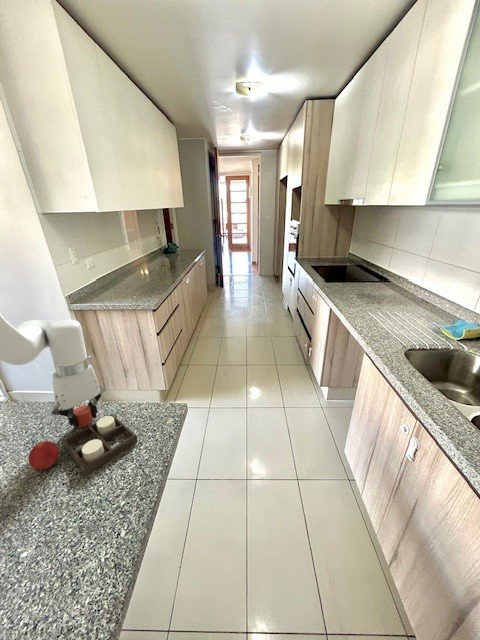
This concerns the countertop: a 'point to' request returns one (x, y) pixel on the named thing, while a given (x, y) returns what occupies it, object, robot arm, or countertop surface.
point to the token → (105, 425)
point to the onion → (43, 455)
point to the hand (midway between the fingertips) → (84, 419)
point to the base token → (92, 451)
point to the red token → (83, 415)
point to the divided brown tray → (105, 438)
